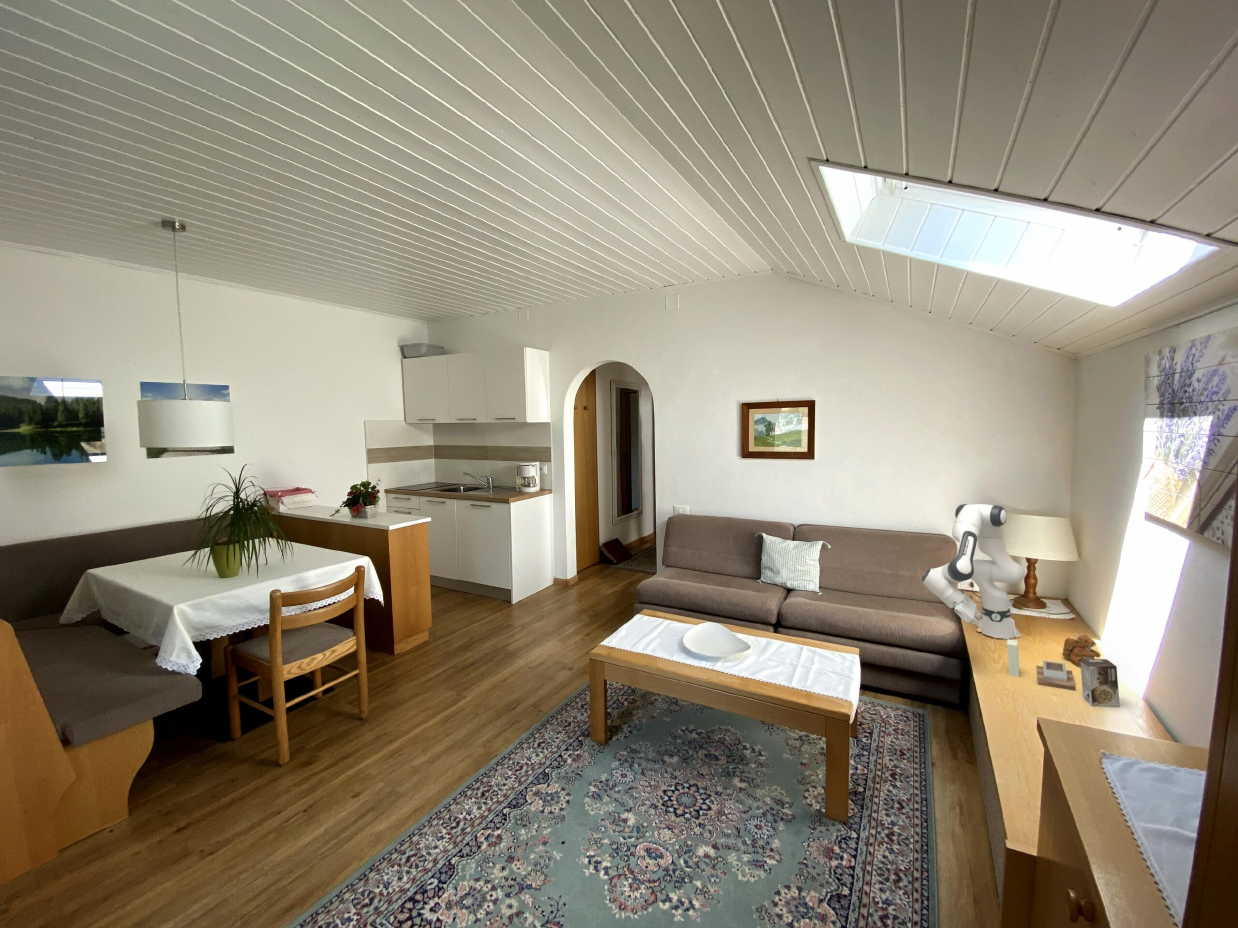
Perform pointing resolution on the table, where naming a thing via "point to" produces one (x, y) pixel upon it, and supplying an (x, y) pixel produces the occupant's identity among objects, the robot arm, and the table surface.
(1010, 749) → the table surface
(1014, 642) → the pale green rectangular block
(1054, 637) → the table surface
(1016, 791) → the table surface
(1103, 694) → the coffee box
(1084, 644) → the stuffed squirrel
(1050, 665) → the wooden base with socket
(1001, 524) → the robot arm
